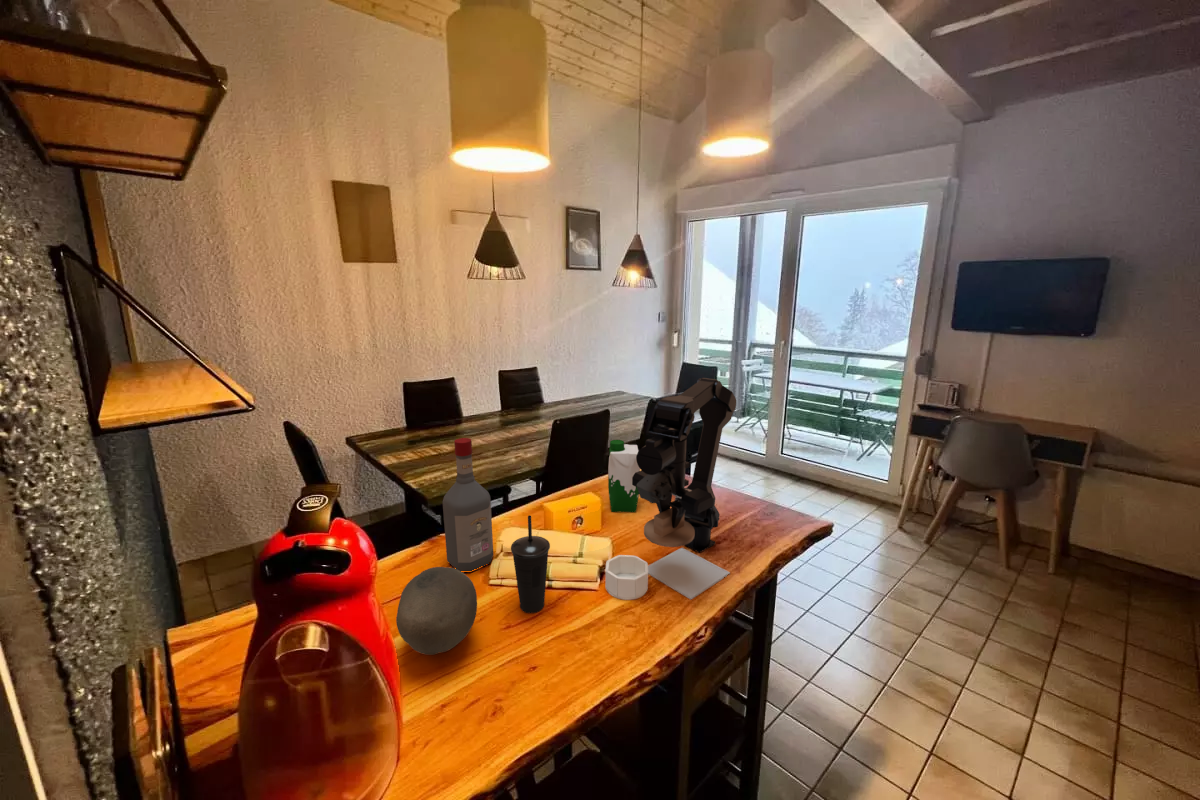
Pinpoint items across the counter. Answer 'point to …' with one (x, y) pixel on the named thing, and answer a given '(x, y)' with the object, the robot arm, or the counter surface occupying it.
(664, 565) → the mat
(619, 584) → the bowl
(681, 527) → the lid
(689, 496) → the robot arm
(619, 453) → the milk carton
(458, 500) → the liquor
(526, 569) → the drinking cup
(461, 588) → the dark grey round stone
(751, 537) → the counter surface
